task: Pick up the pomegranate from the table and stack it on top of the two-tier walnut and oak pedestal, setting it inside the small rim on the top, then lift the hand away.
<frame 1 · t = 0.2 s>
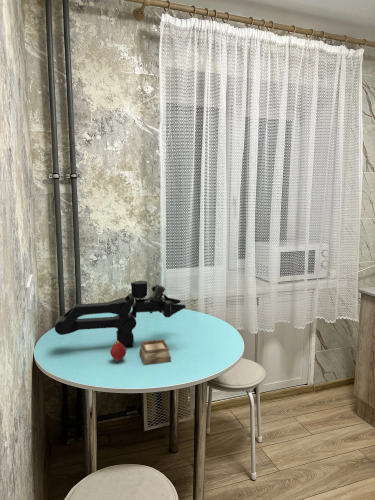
hand: (182, 303, 162), 16 cm above the table, tool horizontal, fingers open, 9 cm apart
pomegranate: (118, 361, 144), on the table
pedestal: (154, 357, 147), on the table
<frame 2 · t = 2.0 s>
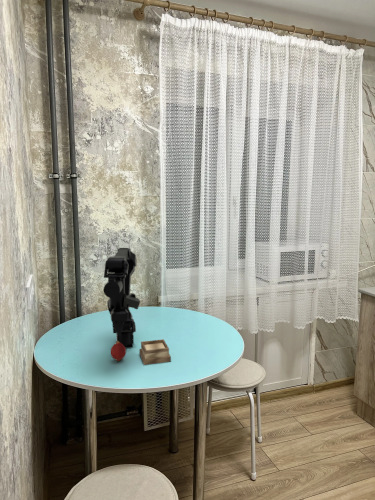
hand: (117, 330, 142), 12 cm above the table, tool pointing down, fingers open, 9 cm apart
nothing on the table moved.
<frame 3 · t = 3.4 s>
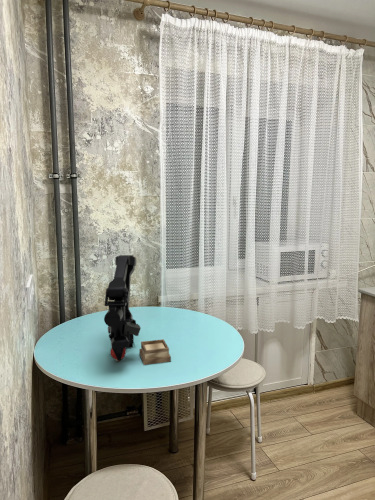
hand: (118, 356, 144), 2 cm above the table, tool pointing down, fingers closed on pomegranate, 6 cm apart
pomegranate: (118, 361, 144), on the table, touching gripper
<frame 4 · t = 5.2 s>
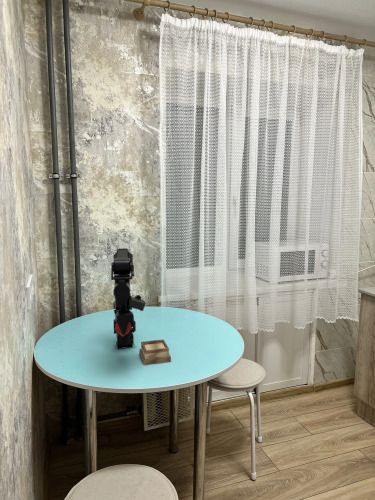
hand: (123, 331, 143), 11 cm above the table, tool pointing down, fingers closed on pomegranate, 6 cm apart
pomegranate: (123, 336, 143), point 10 cm above the table, touching gripper
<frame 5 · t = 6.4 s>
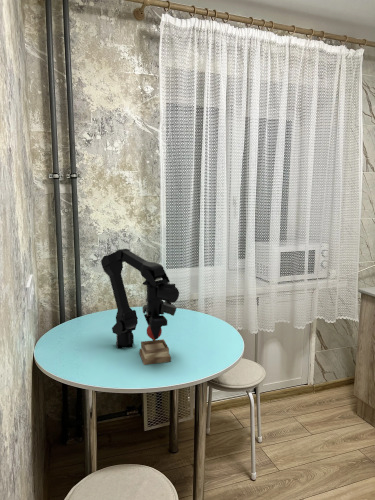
hand: (154, 336, 146), 9 cm above the table, tool pointing down, fingers closed on pomegranate, 6 cm apart
pomegranate: (154, 340, 146), point 7 cm above the table, touching gripper
when the fingers open (7 cm above the table, at t = 7.1 s): pomegranate drops 1 cm, resting on pedestal.
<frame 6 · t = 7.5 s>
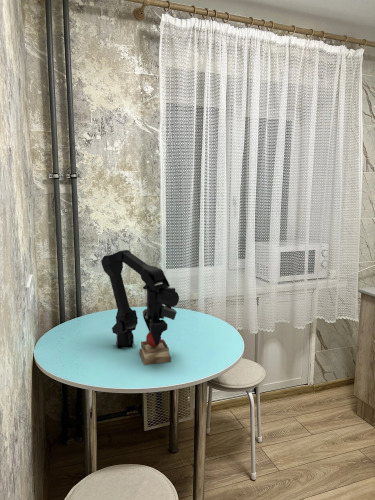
hand: (154, 340, 146), 7 cm above the table, tool pointing down, fingers open, 9 cm apart
pomegranate: (154, 348, 146), point 4 cm above the table, touching pedestal
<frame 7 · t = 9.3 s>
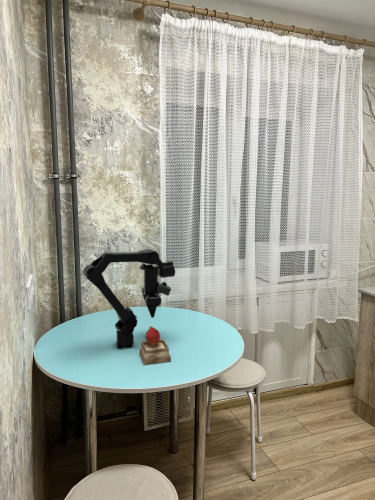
hand: (151, 314, 162), 12 cm above the table, tool pointing down, fingers open, 9 cm apart
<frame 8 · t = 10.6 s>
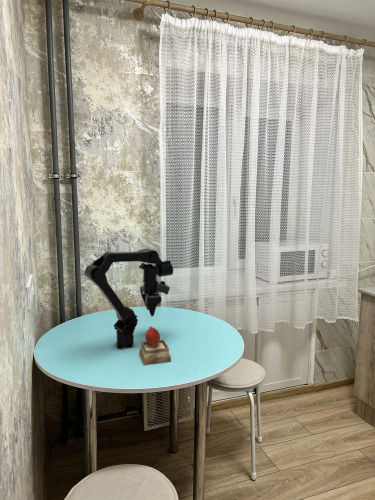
hand: (150, 312, 164), 12 cm above the table, tool pointing down, fingers open, 9 cm apart
at the end: pomegranate 0.2 cm off-centre on the pedestal, point 4.6 cm above the pedestal's base; pomegranate touching pedestal; the gripper is holding nothing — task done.
